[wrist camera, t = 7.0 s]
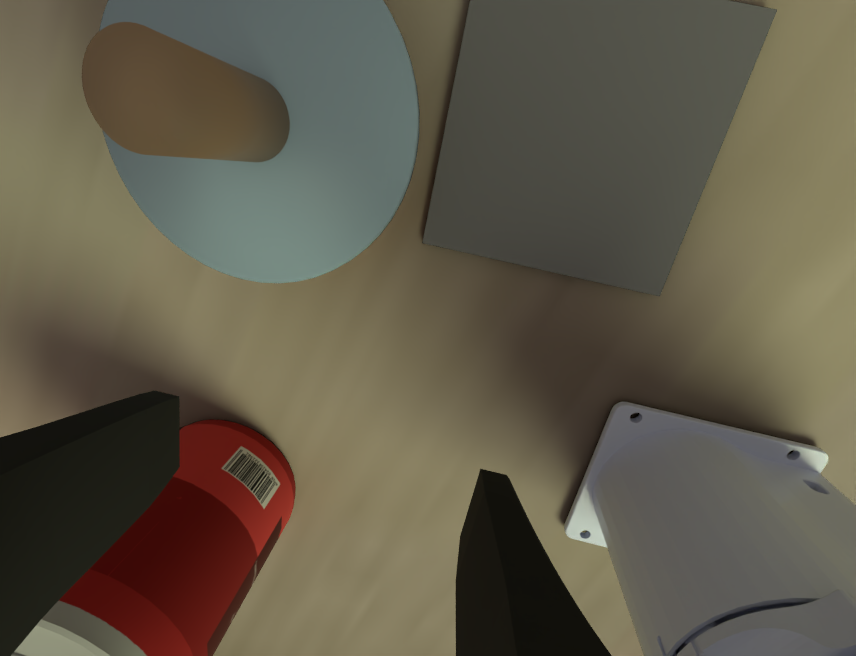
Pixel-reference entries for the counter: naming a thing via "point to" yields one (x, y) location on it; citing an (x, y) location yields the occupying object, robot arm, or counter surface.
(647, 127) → the mat
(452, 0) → the counter surface
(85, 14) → the counter surface
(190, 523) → the canned food
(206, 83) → the lid
